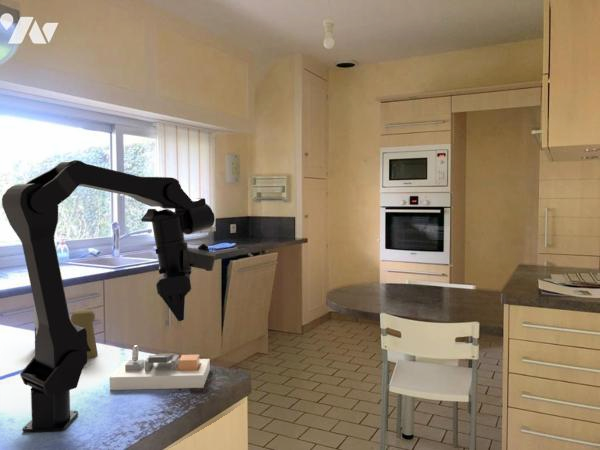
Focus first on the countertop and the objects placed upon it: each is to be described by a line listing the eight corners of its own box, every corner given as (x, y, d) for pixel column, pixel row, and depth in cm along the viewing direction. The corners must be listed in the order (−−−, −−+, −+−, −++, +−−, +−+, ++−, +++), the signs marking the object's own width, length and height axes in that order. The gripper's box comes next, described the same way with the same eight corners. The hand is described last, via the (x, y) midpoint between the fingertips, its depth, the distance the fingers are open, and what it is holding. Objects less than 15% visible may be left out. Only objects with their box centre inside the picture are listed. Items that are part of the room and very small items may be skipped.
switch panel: (203, 387, 97) (203, 365, 97) (109, 390, 96) (109, 367, 96) (209, 370, 107) (209, 349, 107) (125, 372, 106) (124, 351, 106)
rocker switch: (166, 362, 98) (166, 356, 98) (148, 363, 97) (148, 356, 98) (174, 358, 105) (174, 352, 106) (157, 358, 105) (157, 353, 105)
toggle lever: (137, 361, 101) (138, 345, 102) (131, 361, 101) (132, 345, 102) (138, 361, 102) (139, 345, 103) (132, 361, 102) (133, 345, 103)
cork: (102, 352, 120) (101, 307, 120) (89, 360, 114) (88, 313, 114) (78, 351, 121) (77, 307, 120) (64, 359, 115) (63, 312, 114)
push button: (196, 374, 100) (196, 360, 100) (178, 375, 100) (178, 360, 100) (199, 368, 104) (199, 354, 104) (182, 369, 104) (181, 354, 103)
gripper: (211, 242, 92) (223, 321, 95) (208, 226, 110) (218, 293, 113) (150, 251, 90) (163, 332, 93) (157, 233, 108) (168, 301, 111)
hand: (181, 312), depth 103 cm, fingers open, 9 cm apart
